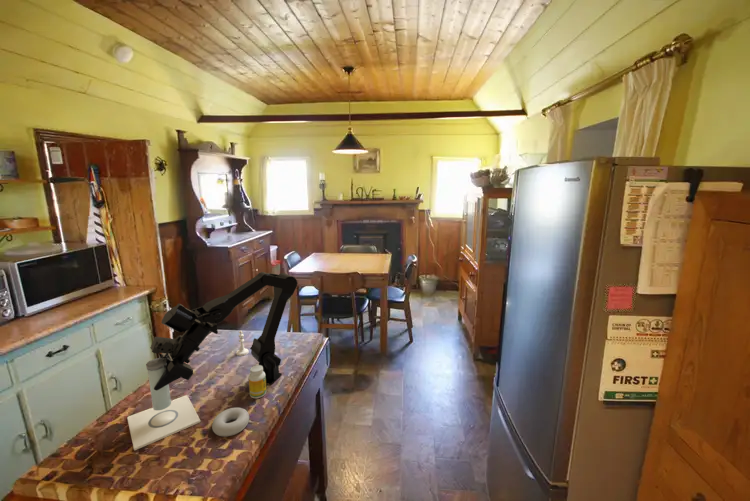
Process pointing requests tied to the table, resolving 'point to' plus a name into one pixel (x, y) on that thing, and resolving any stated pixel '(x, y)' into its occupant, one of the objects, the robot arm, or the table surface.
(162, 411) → the card
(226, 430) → the donut
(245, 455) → the table surface
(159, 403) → the tube
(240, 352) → the chess piece
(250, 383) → the supplement bottle
